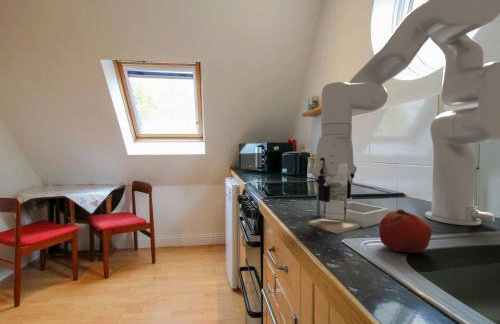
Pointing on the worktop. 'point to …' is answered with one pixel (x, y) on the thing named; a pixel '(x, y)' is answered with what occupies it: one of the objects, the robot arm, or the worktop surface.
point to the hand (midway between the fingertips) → (334, 199)
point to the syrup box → (337, 195)
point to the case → (361, 213)
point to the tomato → (404, 232)
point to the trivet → (334, 225)
